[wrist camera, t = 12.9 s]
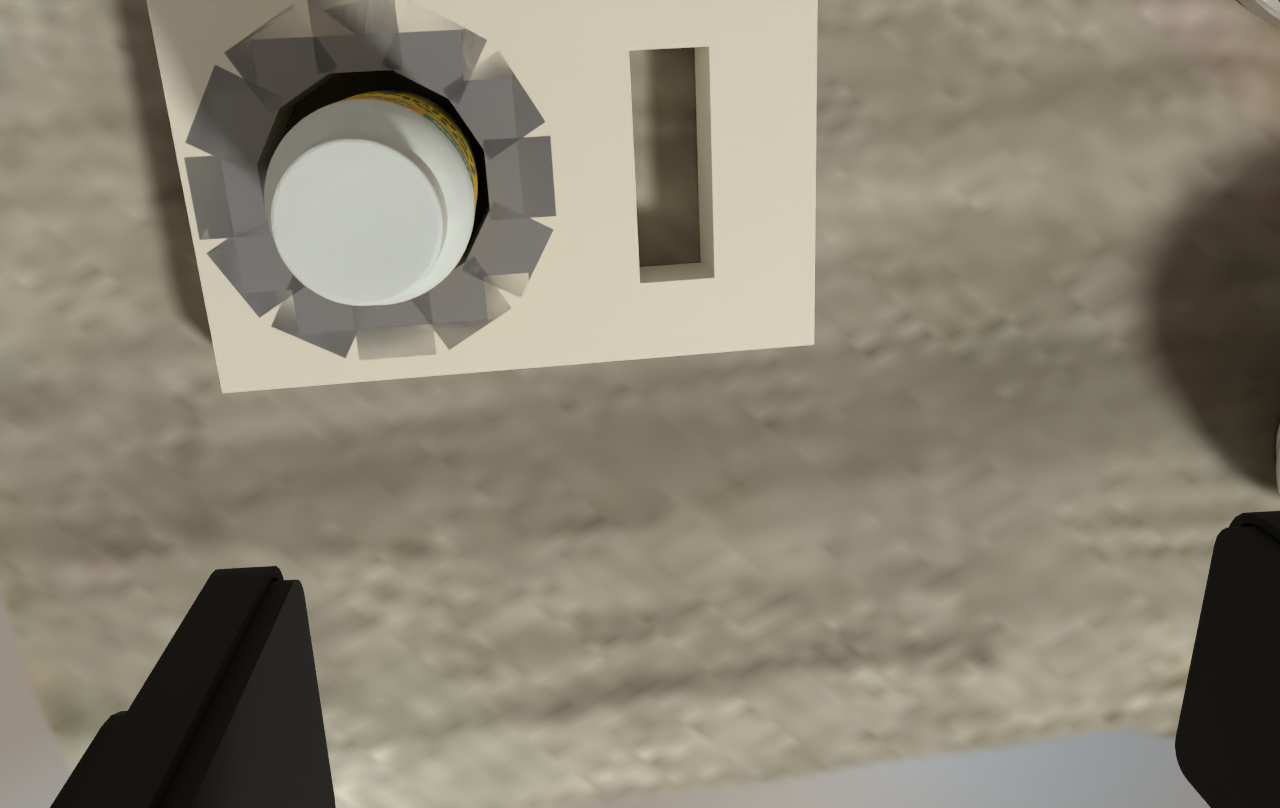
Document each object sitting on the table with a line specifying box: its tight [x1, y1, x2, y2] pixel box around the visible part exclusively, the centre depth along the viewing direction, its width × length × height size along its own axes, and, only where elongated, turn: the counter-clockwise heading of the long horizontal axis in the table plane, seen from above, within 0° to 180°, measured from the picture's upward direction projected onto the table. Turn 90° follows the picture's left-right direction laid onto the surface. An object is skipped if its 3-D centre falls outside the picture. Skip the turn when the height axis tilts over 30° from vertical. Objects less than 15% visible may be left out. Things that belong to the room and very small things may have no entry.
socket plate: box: [146, 0, 818, 393], centre depth 32 cm, size 19×12×2 cm, turn 93°
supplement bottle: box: [264, 90, 478, 306], centre depth 28 cm, size 5×5×10 cm
